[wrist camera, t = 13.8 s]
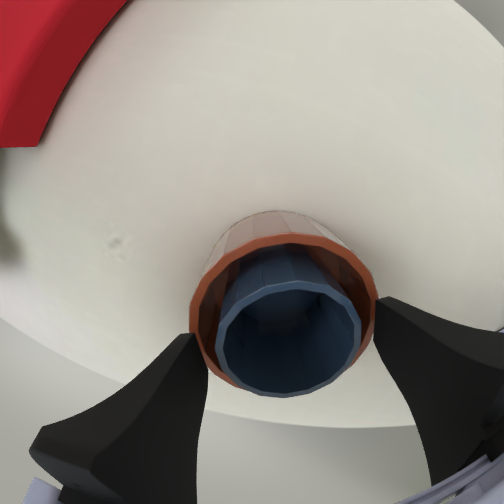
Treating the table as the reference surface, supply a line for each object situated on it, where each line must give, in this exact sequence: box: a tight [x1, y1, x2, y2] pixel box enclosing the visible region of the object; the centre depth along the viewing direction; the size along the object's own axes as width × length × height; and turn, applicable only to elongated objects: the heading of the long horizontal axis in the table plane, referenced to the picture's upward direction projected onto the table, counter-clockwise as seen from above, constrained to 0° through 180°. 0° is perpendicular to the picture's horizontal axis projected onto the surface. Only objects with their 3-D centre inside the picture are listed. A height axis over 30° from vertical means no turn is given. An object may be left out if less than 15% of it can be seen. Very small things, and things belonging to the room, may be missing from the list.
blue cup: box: [215, 243, 362, 398], centre depth 12 cm, size 5×5×6 cm
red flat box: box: [0, 0, 127, 148], centre depth 7 cm, size 18×14×5 cm
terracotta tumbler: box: [189, 211, 379, 391], centre depth 13 cm, size 8×8×5 cm
